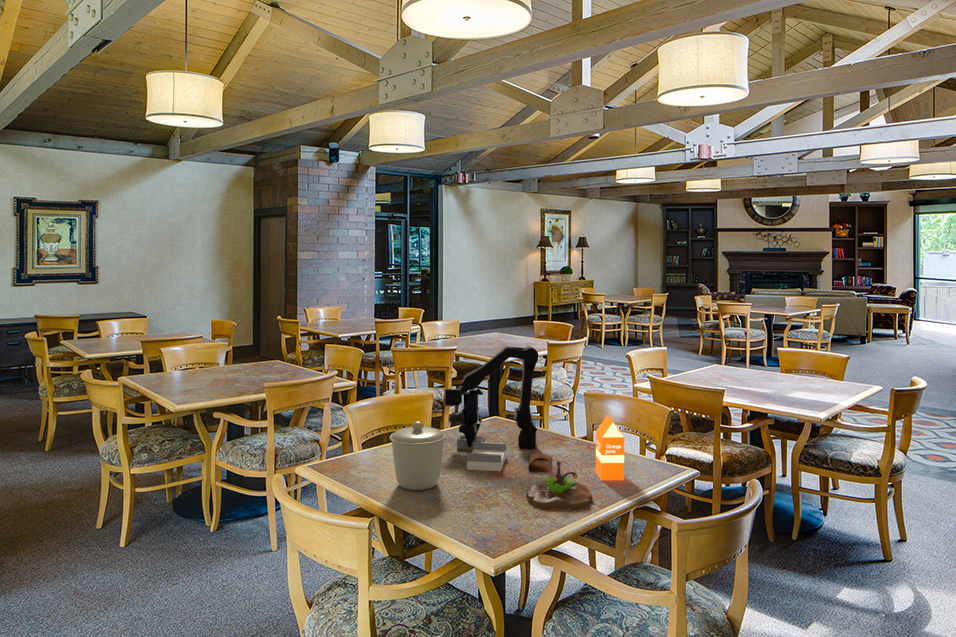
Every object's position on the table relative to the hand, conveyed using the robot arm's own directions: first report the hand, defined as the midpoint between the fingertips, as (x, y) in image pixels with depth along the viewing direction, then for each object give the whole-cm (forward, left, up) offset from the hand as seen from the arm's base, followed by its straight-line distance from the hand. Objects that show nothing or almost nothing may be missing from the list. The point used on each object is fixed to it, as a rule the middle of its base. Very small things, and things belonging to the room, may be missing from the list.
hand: (470, 444), depth 247 cm
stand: (-9, +18, -1) cm, 20 cm away
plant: (-36, +48, -2) cm, 60 cm away
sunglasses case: (-28, +16, -2) cm, 33 cm away
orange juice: (-52, +25, -2) cm, 58 cm away
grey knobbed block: (0, 0, -1) cm, 1 cm away
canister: (+10, +44, -2) cm, 45 cm away
